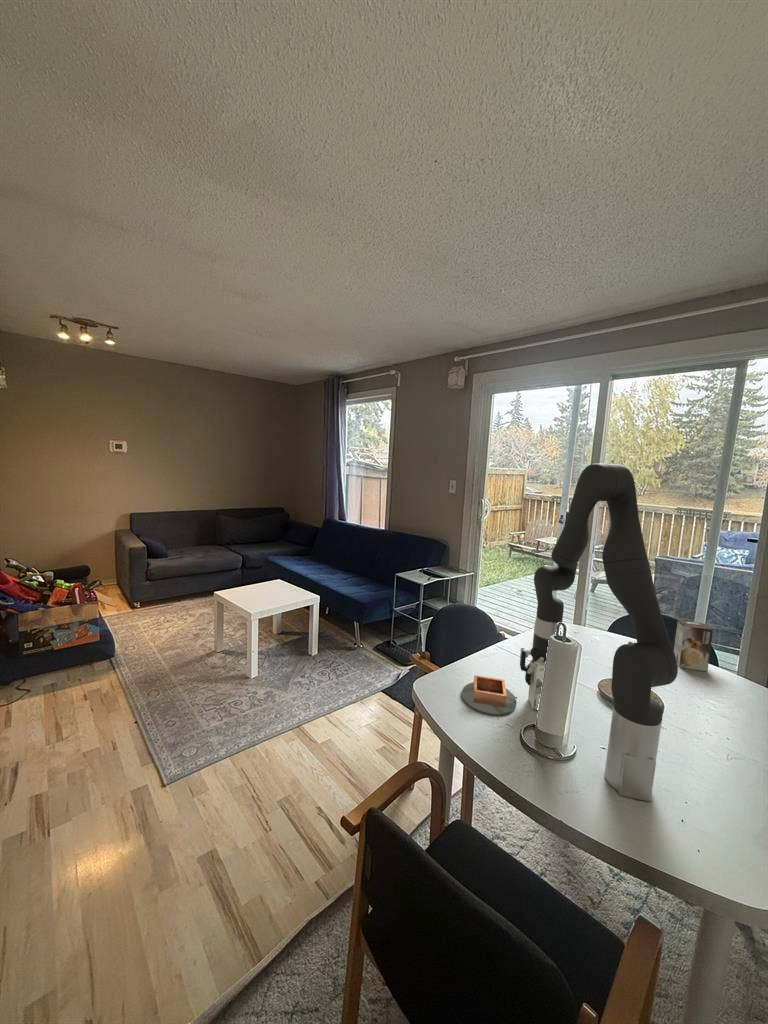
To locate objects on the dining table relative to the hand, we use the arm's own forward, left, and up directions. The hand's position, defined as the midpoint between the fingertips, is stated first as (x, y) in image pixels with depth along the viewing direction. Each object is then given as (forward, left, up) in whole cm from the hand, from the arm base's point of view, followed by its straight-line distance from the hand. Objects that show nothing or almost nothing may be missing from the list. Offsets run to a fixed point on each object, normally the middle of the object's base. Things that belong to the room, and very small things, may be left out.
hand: (542, 686), depth 120 cm
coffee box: (+44, -59, -7) cm, 74 cm away
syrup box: (0, 0, -7) cm, 7 cm away
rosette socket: (-1, +15, -6) cm, 16 cm away
